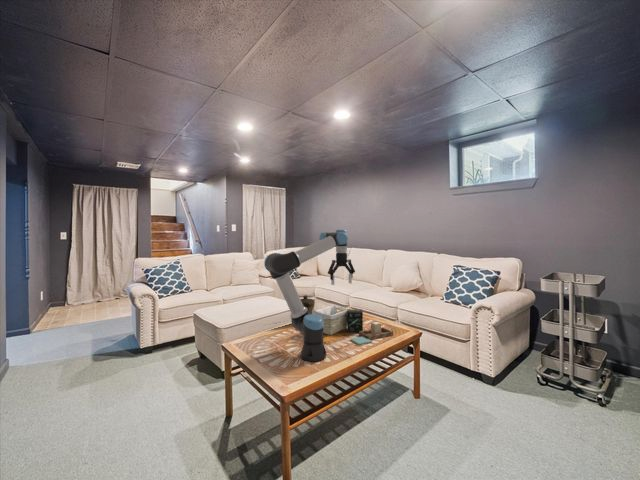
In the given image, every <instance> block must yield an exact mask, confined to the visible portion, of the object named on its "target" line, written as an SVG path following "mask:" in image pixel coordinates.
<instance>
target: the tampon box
mask: <svg viewBox="0 0 640 480" xmlns="http://www.w3.org/2000/svg"><path fill="white" fill-rule="evenodd" d="M347 310H348V311H347V324H348V326H347V332H348V333H359V332H360V331H364V330H363V328H364V326H363V325H364V322H363V321H364V319H363V318H364V317H363V315H364V314H363V313H364V312H363V308H362V309H359V308H358V309H355V308H352V309H351V308H350V309H349V308H347Z"/></svg>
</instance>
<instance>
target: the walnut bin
mask: <svg viewBox="0 0 640 480" xmlns="http://www.w3.org/2000/svg"><path fill="white" fill-rule="evenodd" d="M362 336H363V337H365V338H367V339H369V340H371V341H373V340H376V339H380V338H381V339H382V338H386V337H391V336H392V337H393V336H394V331H392V330H390V329H388V328H385V327H381V334H376V335H371V329H367V330H363V331H360V332H358V337H362Z"/></svg>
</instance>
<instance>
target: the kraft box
mask: <svg viewBox="0 0 640 480" xmlns="http://www.w3.org/2000/svg"><path fill="white" fill-rule="evenodd" d="M381 328H382V323H380V322H377V321H375V322H370V330H371V335H376V334H381Z"/></svg>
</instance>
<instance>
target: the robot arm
mask: <svg viewBox="0 0 640 480" xmlns="http://www.w3.org/2000/svg"><path fill="white" fill-rule="evenodd" d="M348 238H349V237H348V232H347V229H336V230H335V232H333V231H332V232H320V235H319V238H318V239H319V240H318V241H316V242H314V243H311V244H309V245H307V246H305V247H303V248H301V249H299V250H296V251H290V252H287V253H277V252H273V253H270V254H268V255H267V256H266V257H265V258H264V262H263V263H264V267H265V268H264V269H266V270H267V272H268V273H269V274H270V276H271V278H272V279H273V280H275V281H276V284H277V285H278V288H279V289H280V291H281V294H282V296H283V298H284V300H285V302H286V305H287V307H288V309H289V311H290V315H289V317H290V319H291V326H292V327H293V328H294V329H295V330H296V331H298V332H299V333H301V334H303V344H302V348H301V350H300V358H301V359H302V360H304V361H306V362H307V361H308V362H320V361H323V360H325V359H326V358H327V350H326V347H325V344H324V333H323V319H322V317H321V316H319V315H315V314H310V313H309V311H308V309H307V308H306V307H304V306H303V304H302V302H301V300H300V299H301V298H300V295H299V293H298V291H297V288H296V287H295V284H294V282H293V280H292V278H291V276H290V273H291V272H292V271H293V270H296V269H298V268H299V267H301V265H302V264H303V263H305V262H308V261H309V260H312V259H313V258H315V257H317V256H319V255H321V254H324V253H325V252H327V251H329V250H331V249H333V248H335V259H331V264H330V266H329V269H328V271H327V274H328V275H329V276H330V277H329V279H330V281H331V283H330V284H331V285H332V286H335V275H334V274H335V273H336V272H337V270H338V268H339V267H344V268H345V269H346V270H347V272H348V283H349V284H352V283H353V282H352V279H353V277H354V276H353V274H355V273H356V270H355V268H354V266H353V263H352V260H351V259H350V258H348Z"/></svg>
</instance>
